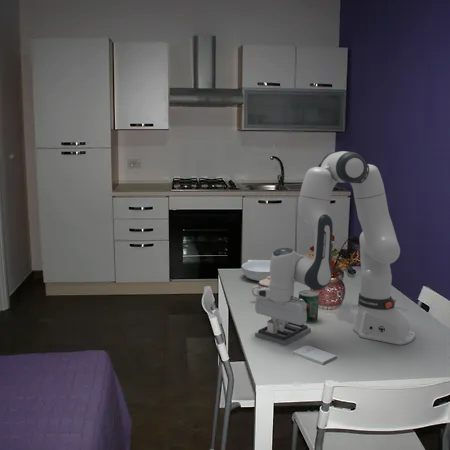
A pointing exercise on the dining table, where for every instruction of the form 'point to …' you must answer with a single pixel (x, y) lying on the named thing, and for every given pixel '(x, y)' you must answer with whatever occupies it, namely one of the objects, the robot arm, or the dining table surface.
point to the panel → (284, 334)
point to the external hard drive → (315, 355)
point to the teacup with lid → (262, 284)
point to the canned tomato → (310, 304)
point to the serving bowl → (256, 270)
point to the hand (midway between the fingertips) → (279, 330)
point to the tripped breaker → (271, 327)
